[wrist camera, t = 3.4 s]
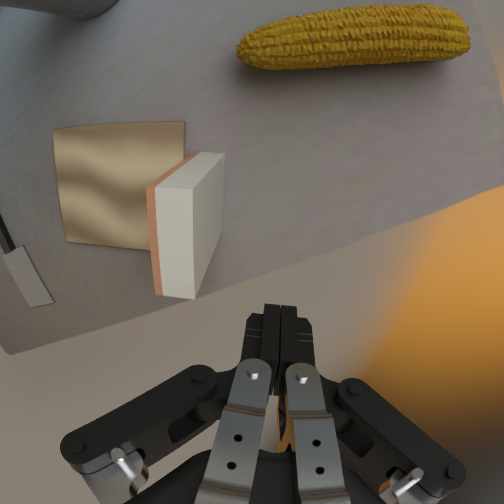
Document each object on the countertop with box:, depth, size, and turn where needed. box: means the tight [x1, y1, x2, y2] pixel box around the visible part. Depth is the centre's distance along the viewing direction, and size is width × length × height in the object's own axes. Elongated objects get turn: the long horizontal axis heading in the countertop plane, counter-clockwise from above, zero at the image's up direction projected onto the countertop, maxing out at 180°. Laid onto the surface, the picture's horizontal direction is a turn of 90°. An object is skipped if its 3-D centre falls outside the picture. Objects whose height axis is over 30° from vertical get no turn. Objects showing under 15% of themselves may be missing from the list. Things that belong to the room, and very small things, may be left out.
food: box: [236, 4, 471, 70], centre depth 20 cm, size 21×6×6 cm, turn 106°
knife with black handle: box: [0, 215, 55, 307], centre depth 35 cm, size 24×7×1 cm, turn 16°
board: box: [53, 121, 185, 250], centre depth 30 cm, size 14×16×1 cm
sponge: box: [146, 152, 226, 300], centre depth 25 cm, size 8×3×12 cm, turn 176°
